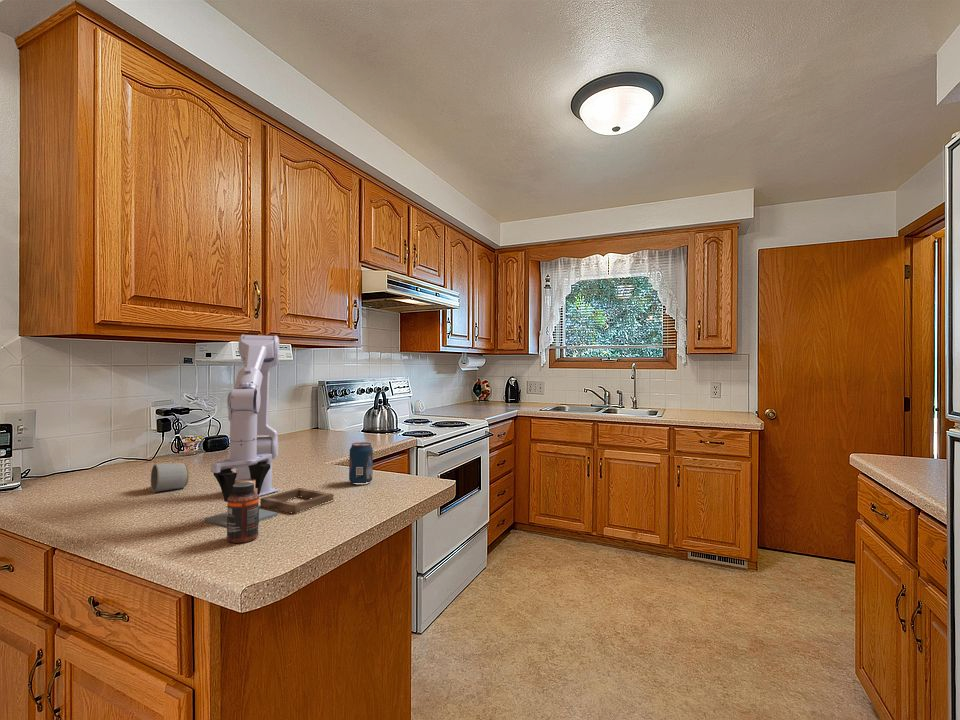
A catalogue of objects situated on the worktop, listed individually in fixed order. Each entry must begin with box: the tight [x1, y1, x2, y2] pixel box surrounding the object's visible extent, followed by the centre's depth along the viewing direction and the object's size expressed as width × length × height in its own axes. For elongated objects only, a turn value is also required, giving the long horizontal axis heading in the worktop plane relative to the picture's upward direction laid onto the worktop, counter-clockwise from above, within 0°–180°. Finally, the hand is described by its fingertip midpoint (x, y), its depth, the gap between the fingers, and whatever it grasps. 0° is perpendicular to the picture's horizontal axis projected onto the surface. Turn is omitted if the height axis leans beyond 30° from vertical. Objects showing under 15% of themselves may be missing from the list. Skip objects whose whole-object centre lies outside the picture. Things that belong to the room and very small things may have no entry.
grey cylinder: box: [150, 462, 190, 493], centre depth 138 cm, size 11×8×8 cm
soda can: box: [348, 441, 374, 483], centre depth 147 cm, size 7×7×12 cm
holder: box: [259, 487, 334, 514], centre depth 124 cm, size 12×12×2 cm
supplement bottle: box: [226, 482, 260, 544], centre depth 99 cm, size 6×6×11 cm
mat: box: [204, 508, 279, 528], centre depth 113 cm, size 11×11×1 cm
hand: (242, 497), depth 113 cm, fingers open, 6 cm apart
